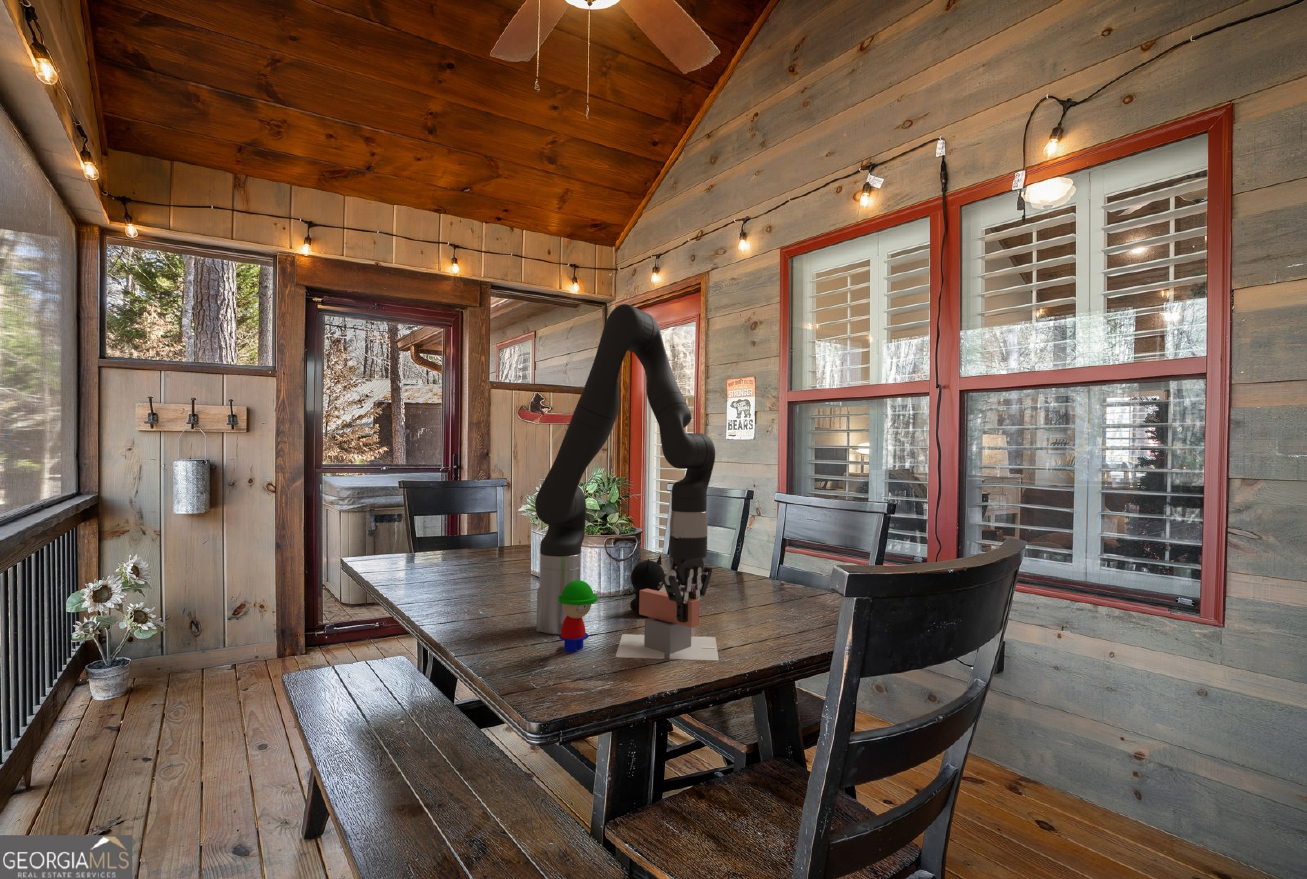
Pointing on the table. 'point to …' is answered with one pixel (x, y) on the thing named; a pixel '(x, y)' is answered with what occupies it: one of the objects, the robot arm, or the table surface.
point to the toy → (575, 613)
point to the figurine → (646, 580)
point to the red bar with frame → (665, 634)
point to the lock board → (635, 649)
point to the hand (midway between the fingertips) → (687, 619)
